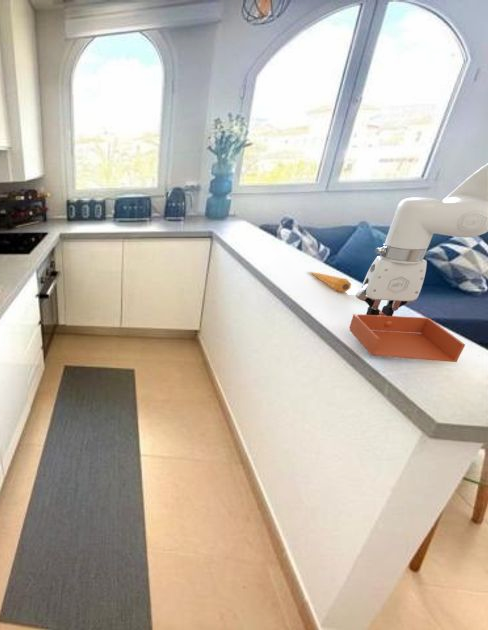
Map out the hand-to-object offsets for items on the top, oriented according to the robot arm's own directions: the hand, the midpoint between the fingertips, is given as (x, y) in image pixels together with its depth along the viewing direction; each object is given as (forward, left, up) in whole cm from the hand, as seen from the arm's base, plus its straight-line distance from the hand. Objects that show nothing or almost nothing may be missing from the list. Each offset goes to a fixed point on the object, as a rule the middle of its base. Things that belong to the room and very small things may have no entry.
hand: (376, 321), depth 89 cm
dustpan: (0, +6, -1) cm, 6 cm away
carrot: (0, -34, -2) cm, 34 cm away
